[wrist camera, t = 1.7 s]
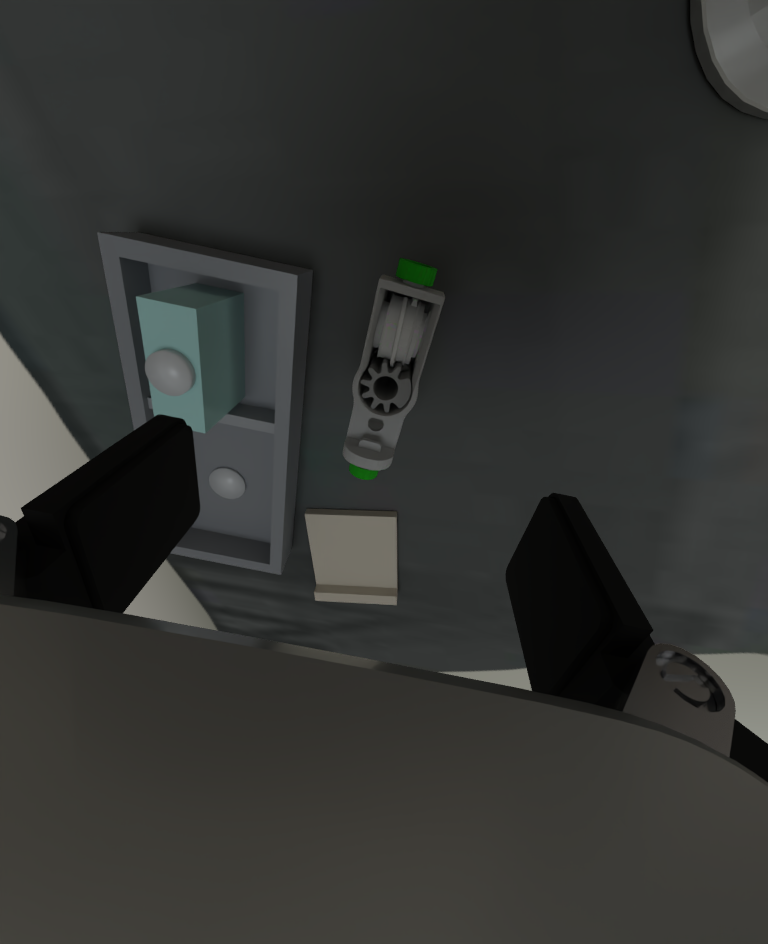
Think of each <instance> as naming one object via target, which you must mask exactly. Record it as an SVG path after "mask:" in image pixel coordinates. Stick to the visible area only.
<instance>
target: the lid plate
mask: <svg viewBox="0 0 768 944" xmlns="http://www.w3.org/2000/svg"><path fill="white" fill-rule="evenodd" d="M305 519H306V525H307V531H308V537H309V543H310V549H311V555H312V560H313V566H314V572H315V578H316V584H317V585H316V588H315V591H314V594H315V600H316V601H331V602H350V603H368V604H387V605H397V593H398V574H397V511H367V510H336V509H307V510H306V512H305Z"/></svg>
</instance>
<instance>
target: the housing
mask: <svg viewBox="0 0 768 944" xmlns="http://www.w3.org/2000/svg"><path fill="white" fill-rule="evenodd" d="M97 234H98V240H99V245H100V250H101V256H102V261H103V266H104V272H105V277H106V282H107V288H108V293H109V298H110V304H111V309H112V314H113V320H114V325H115V331H116V336H117V341H118V347H119V352H120V357H121V363H122V368H123V373H124V379H125V384H126V389H127V395H128V400H129V405H130V411H131V416H132V421H133V427H134V430H136V429H137V428H139V427H140V426H141V425H143V424H144V423H146V422H147V421H149V420H150V419H152V418H153V417H155V416H156V415H159V414H162V415H167V416H172V417H177V418H182V419H184V420H185V422H186V424H187V425H189V426H190V427H191V428H192V431H193V439H194V449H195V459H196V468H197V478H198V488H199V498H200V513H199V516H198V518H197V520H196V521H195V522H194V524H193V525H192V526H191V527H190V529H189V530H188V531H187V533H186V534H185V535H184V536H183V538H182V539H181V540H180V541H179V543H178V544H177V545H176V546H175V548H174V549H173V550H172V552H171V553H172V554H177V555H182V556H187V557H192V558H197V559H203V560H208V561H213V562H218V563H223V564H228V565H233V566H238V567H243V568H249V569H254V570H259V571H264V572H269V573H274V574H279V575H281V573H282V571H283V568H284V566H285V564H286V561H287V559H288V556H289V554H290V552H291V549H292V544H293V531H294V518H295V504H296V491H297V478H298V465H299V451H300V438H301V425H302V412H303V398H304V385H305V372H306V359H307V345H308V332H309V319H310V306H311V292H312V279H313V270H311V269H306V268H301V267H297V266H292V265H287V264H283V263H278V262H274V261H269V260H264V259H260V258H255V257H251V256H246V255H241V254H237V253H232V252H227V251H223V250H218V249H214V248H209V247H204V246H200V245H195V244H190V243H186V242H181V241H177V240H172V239H167V238H163V237H158V236H153V235H149V234H144V233H140V232H97Z"/></svg>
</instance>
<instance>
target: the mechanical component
mask: <svg viewBox="0 0 768 944" xmlns="http://www.w3.org/2000/svg"><path fill="white" fill-rule="evenodd" d="M437 270H438V269H436V268H434V267H431V266H428V265H425V264H422V263H419V262H416V261H412V260H408V259H404V258H400V260H399V264H398V268H397V272H396V276H397V277H399V278H402V279H403V280H400V279H397V278H394V277H390V276H387V275H382V276H381V277H380V278H379V283H378V287H377V292H376V296H375V301H374V305H373V310H372V314H371V319H370V323H369V328H368V332H367V337H366V341H365V346H364V350H363V355H362V359H361V364H360V366H359V369H358V371H357V373H356V375H355V377H354V380H353V385H352V391H353V396H354V402H353V403H354V406H353V411H352V415H351V420H350V424H349V429H348V433H347V437H346V440H345V443H344V448H343V456H344V458H345V459H346V460H347V461H348V462H350V466H349V471H350V472H351V474H352V475H354V476H355V477H357V478H360V479H364V480H371V479H374V478H376V477H377V474H378V471H379V470H384V469H387V468H388V467H389V466H390V465H391V462H392V459H393V456H394V450H395V446H396V443H397V440H398V437H399V434H400V430H401V427H402V424H403V421H404V417H406V415H407V413H408V412H409V411H410V410H411V409H412V408H413V406H414V404H415V402H416V400H417V396H418V383H419V379H420V376H421V373H422V370H423V367H424V364H425V360H426V357H427V354H428V351H429V348H430V344H431V341H432V338H433V335H434V332H435V328H436V325H437V322H438V319H439V316H440V313H441V309H442V306H443V303H444V300H445V296H444V293H443V292H441V291H438V290H434V289H431V288H427V287H424V285H425V286H433V283H434V280H435V276H436V273H437Z"/></svg>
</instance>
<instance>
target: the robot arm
mask: <svg viewBox="0 0 768 944" xmlns="http://www.w3.org/2000/svg"><path fill="white" fill-rule="evenodd" d="M690 23H691V28H692V34H693V39H694V45H695V50H696V54H697V57H698V59H699V61H700V64H701V66H702V69H703V71H704V73H705V76H706V78H707V80H708V81H709V82H710V84H711V85H712V86H713V87H714V89H715V90H716V91H717V93H718V94H719V95H720V96H721V98H722V99H724V100H725V101H727V102H728V103H729V104H731V105H732V106H734V107H735V108H737V109H738V110H740V111H741V112H744V113H747V114H750V115H753V116H756V117H760V118H763V119H768V0H690ZM21 510H22V512H23V514H24V517H22V518H21V519H19V520H18V521H17V522H14V521H13V520H11V519H10V518H8V517H4V516H0V944H768V744H767V743H766V742H764V741H763V740H762V739H761V738H759V737H758V736H757V735H755V734H754V733H752V732H751V731H750V730H749V729H747V728H746V727H745V726H743V725H742V724H741V723H740V722H738V721H737V720H735V711H736V710H735V702H734V699H733V697H732V695H731V693H730V691H729V689H728V688H727V686H726V685H725V683H724V682H723V681H722V679H721V678H720V677H719V676H718V675H717V674H716V673H715V672H714V671H713V670H712V669H711V668H710V667H709V666H708V665H707V664H705V663H704V662H703V661H702V660H700V659H699V658H698V657H696V656H695V655H693V654H691V653H689V652H688V651H686V650H684V649H682V648H679V647H677V646H674V645H671V644H663V643H660V644H656V645H655V644H654V642H653V640H652V638H651V637H650V633H651V632H652V631H653V629H652V627H651V625H650V624H649V622H648V620H647V618H646V617H645V615H644V613H643V611H642V610H641V608H640V606H639V605H638V603H637V601H636V599H635V598H634V596H633V594H632V592H631V591H630V589H629V587H628V586H627V584H626V582H625V580H624V579H623V577H622V575H621V573H620V572H619V570H618V568H617V566H616V565H615V563H614V561H613V560H612V558H611V556H610V554H609V553H608V551H607V549H606V547H605V546H604V544H603V542H602V541H601V539H600V537H599V535H598V534H597V532H596V530H595V528H594V527H593V525H592V523H591V522H590V520H589V518H588V516H587V515H586V513H585V511H584V509H583V508H582V506H581V504H580V503H579V501H578V499H577V498H576V497H572V496H567V495H562V494H557V493H552V494H551V495H549V497H543V498H542V499H541V501H540V503H539V505H538V507H537V509H536V511H535V513H534V515H533V517H532V519H531V521H530V523H529V525H528V527H527V529H526V531H525V533H524V535H523V537H522V539H521V541H520V542H519V544H518V546H517V548H516V550H515V552H514V554H513V556H512V558H511V560H510V562H509V564H508V567H507V570H506V583H507V587H508V591H509V595H510V600H511V604H512V608H513V612H514V617H515V621H516V625H517V629H518V633H519V638H520V642H521V646H522V650H523V654H524V659H525V663H526V667H527V671H528V676H529V680H530V684H531V688H532V691H529V690H524V689H520V688H515V687H510V686H505V685H500V684H495V683H490V682H484V681H479V680H474V679H468V678H464V677H459V676H454V675H448V674H443V673H438V672H433V671H428V670H423V669H417V668H412V667H407V666H402V665H397V664H392V663H386V662H381V661H376V660H371V659H365V658H360V657H355V656H349V655H344V654H339V653H334V652H328V651H323V650H318V649H312V648H307V647H302V646H296V645H291V644H286V643H280V642H275V641H270V640H264V639H259V638H254V637H248V636H243V635H238V634H232V633H227V632H221V631H216V630H210V629H205V628H199V627H194V626H188V625H182V624H177V623H172V622H167V621H161V620H155V619H150V618H144V617H139V616H134V615H128V614H123V612H124V611H125V610H126V608H127V607H128V606H129V605H130V603H131V602H132V601H133V600H134V598H135V597H136V596H137V595H138V593H139V592H140V591H141V590H142V588H143V587H144V586H145V584H146V583H147V582H148V581H149V579H150V578H151V577H152V576H153V574H154V573H155V572H156V571H157V569H158V568H159V567H160V565H161V564H162V563H163V562H164V560H165V559H166V558H167V557H168V555H169V554H170V553H171V552H172V550H173V549H174V548H175V546H176V545H177V544H178V543H179V541H180V540H181V539H182V538H183V536H184V535H185V534H186V533H187V531H188V530H189V529H190V527H191V526H192V525H193V524H194V522H195V521H196V520H197V518H198V516H199V513H200V498H199V488H198V478H197V468H196V459H195V449H194V439H193V431H192V428H191V427H190V426H189V425H187V424H186V422H185V420H184V419H182V418H177V417H172V416H167V415H162V414H159V415H156V416H155V417H153V418H152V419H150V420H149V421H147V422H146V423H144V424H143V425H141V426H140V427H139V428H137V429H136V430H134V431H133V432H131V433H130V434H128V435H127V436H125V437H124V438H122V439H121V440H120V441H118V442H117V443H115V444H114V445H112V446H111V447H109V448H108V449H106V450H105V451H103V452H102V453H100V454H99V455H98V456H96V457H95V458H93V459H92V460H90V461H89V462H87V463H86V464H85V465H83V466H82V467H80V468H79V469H77V470H76V471H74V472H73V473H71V474H70V475H68V476H67V477H65V478H64V479H62V480H61V481H60V482H58V483H57V484H55V485H54V486H52V487H51V488H49V489H48V490H46V491H45V492H44V493H42V494H41V495H39V496H38V497H36V498H35V499H33V500H32V501H30V502H29V503H27V504H26V505H24V506H23V507H22V508H21Z"/></svg>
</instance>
